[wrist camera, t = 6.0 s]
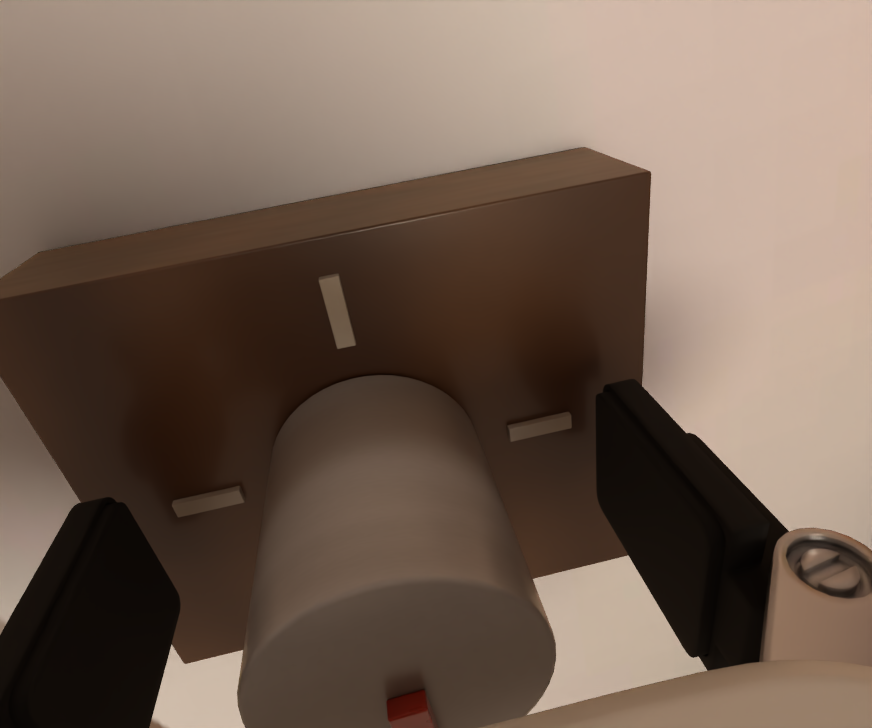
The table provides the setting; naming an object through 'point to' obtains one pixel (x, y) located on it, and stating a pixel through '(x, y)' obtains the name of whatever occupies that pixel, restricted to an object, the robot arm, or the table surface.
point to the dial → (388, 572)
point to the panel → (336, 353)
